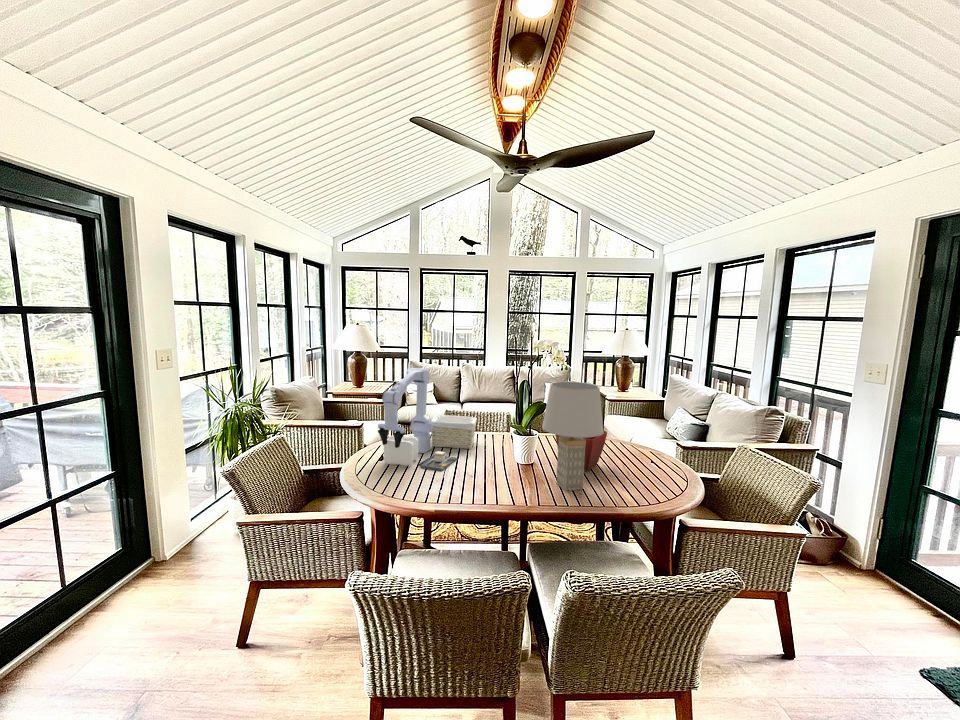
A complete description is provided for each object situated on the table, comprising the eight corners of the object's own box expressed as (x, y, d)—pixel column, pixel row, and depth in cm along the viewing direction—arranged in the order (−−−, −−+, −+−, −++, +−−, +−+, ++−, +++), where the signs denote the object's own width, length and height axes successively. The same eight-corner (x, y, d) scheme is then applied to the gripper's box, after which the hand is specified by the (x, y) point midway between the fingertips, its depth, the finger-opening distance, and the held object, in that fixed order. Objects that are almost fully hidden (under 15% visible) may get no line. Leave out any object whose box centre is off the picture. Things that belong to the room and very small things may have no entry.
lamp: (555, 501, 169) (560, 391, 165) (530, 477, 193) (534, 380, 189) (611, 496, 176) (618, 389, 172) (581, 473, 200) (586, 380, 196)
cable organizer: (381, 464, 205) (381, 440, 204) (389, 457, 215) (389, 434, 214) (412, 466, 203) (412, 442, 202) (418, 459, 213) (419, 436, 212)
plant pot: (590, 475, 198) (592, 439, 196) (552, 465, 210) (554, 431, 208) (606, 464, 213) (608, 431, 212) (570, 456, 225) (571, 424, 223)
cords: (433, 456, 219) (433, 454, 218) (436, 456, 218) (436, 455, 218) (418, 465, 205) (418, 463, 205) (421, 466, 204) (421, 464, 204)
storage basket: (476, 441, 246) (477, 416, 245) (473, 450, 230) (474, 423, 228) (435, 439, 248) (435, 414, 247) (428, 447, 232) (429, 420, 231)
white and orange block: (437, 459, 210) (437, 451, 209) (444, 460, 208) (444, 452, 208) (434, 461, 207) (434, 452, 207) (441, 462, 206) (442, 454, 205)
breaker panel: (437, 456, 218) (437, 453, 218) (457, 460, 214) (457, 456, 214) (420, 467, 202) (420, 463, 202) (441, 471, 198) (442, 467, 198)
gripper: (373, 416, 199) (373, 445, 200) (397, 420, 192) (397, 450, 193) (384, 413, 205) (383, 441, 206) (407, 417, 198) (407, 447, 199)
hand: (391, 445), depth 200 cm, fingers open, 7 cm apart
